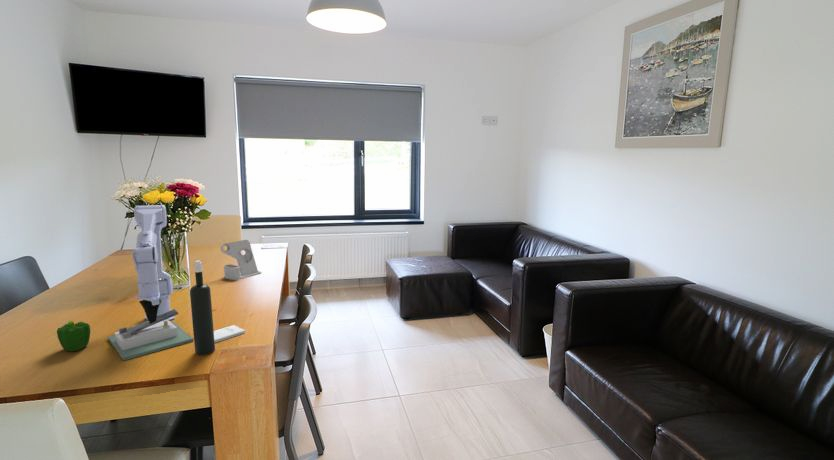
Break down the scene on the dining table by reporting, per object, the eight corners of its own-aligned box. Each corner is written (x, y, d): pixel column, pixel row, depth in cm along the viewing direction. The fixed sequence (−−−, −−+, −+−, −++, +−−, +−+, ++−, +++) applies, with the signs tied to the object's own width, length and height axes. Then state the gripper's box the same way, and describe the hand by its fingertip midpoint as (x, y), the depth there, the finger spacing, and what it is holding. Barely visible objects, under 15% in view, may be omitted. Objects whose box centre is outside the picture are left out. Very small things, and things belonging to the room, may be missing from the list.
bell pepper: (71, 343, 142) (67, 314, 140) (97, 342, 143) (93, 314, 141) (52, 354, 134) (47, 324, 132) (79, 354, 134) (75, 324, 133)
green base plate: (108, 339, 145) (106, 323, 144) (172, 323, 159) (171, 309, 159) (123, 360, 130) (121, 343, 129) (193, 341, 144) (191, 325, 143)
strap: (125, 337, 138) (124, 334, 137) (122, 333, 140) (121, 331, 140) (178, 314, 148) (177, 311, 148) (174, 311, 151) (174, 309, 151)
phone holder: (233, 280, 215) (231, 246, 212) (221, 277, 221) (219, 243, 218) (262, 273, 230) (260, 240, 227) (250, 270, 235) (248, 238, 232)
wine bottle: (191, 352, 136) (183, 261, 131) (208, 346, 141) (201, 258, 136) (201, 357, 133) (193, 264, 128) (218, 350, 138) (211, 260, 133)
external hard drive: (199, 339, 147) (233, 328, 157) (210, 346, 142) (245, 334, 151) (198, 334, 147) (233, 324, 156) (209, 341, 142) (244, 329, 151)
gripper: (128, 279, 144) (133, 317, 147) (140, 288, 134) (144, 329, 137) (152, 275, 149) (156, 312, 151) (164, 284, 139) (168, 323, 142)
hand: (152, 320), depth 144 cm, fingers closed, pressing on strap
